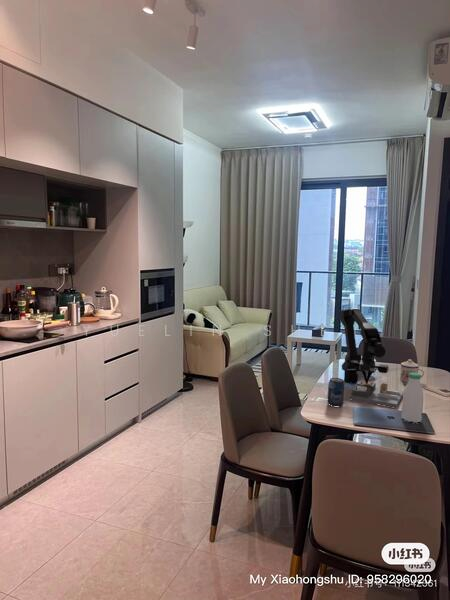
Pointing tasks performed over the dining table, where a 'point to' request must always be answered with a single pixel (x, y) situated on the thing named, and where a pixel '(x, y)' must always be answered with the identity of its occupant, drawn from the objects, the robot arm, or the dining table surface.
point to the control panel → (376, 395)
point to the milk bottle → (413, 399)
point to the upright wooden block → (383, 388)
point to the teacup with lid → (408, 370)
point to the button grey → (362, 388)
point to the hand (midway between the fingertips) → (366, 383)
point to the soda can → (336, 392)
